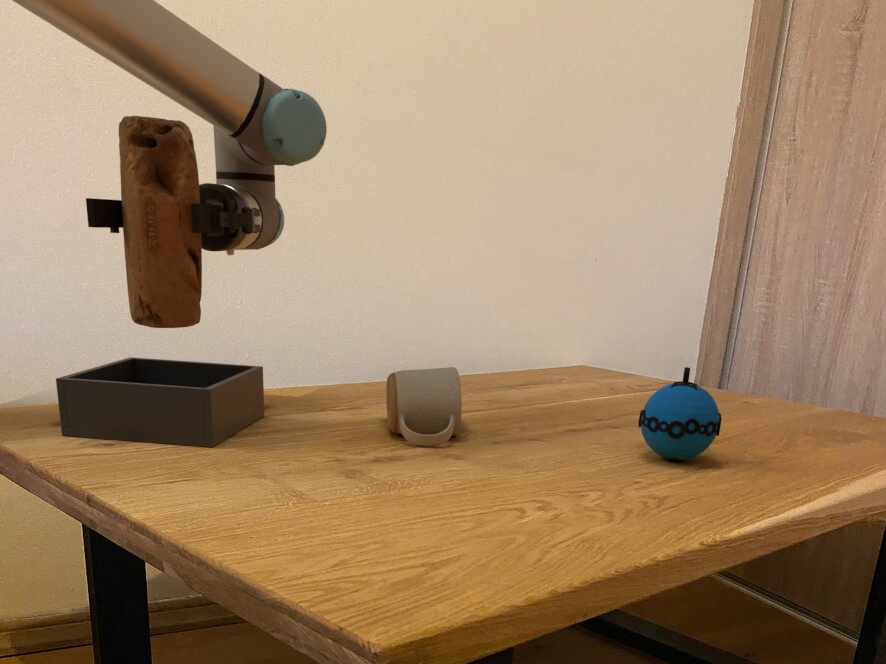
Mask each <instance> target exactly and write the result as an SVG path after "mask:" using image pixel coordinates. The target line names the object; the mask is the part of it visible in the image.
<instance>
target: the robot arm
mask: <svg viewBox="0 0 886 664" xmlns="http://www.w3.org/2000/svg"><path fill="white" fill-rule="evenodd" d="M11 1H12V2H14V3H16V4H17V5H19V6H20V7H22V8H24V9H25V10H27V11H28V12H30V13H32V14H33V15H35V16H36V17H38V18H40V19H41V20H43V21H45V22H46V23H48V24H50V25H51V26H53V27H54V28H56V29H57V30H59V31H60V32H62V33H63V34H65V35H67V36H69V37H70V38H72V39H74V40H75V41H77V42H78V43H80V44H81V45H83V46H85V47H86V48H88V49H90V50H92V51H93V52H94V53H96V54H98V55H99V56H101V57H103V58H104V59H105V60H108V61H109V62H111V63H112V64H114V65H115V66H117V67H119V68H120V69H122V70H123V71H125V72H127V73H128V74H130V75H132V76H133V77H135V78H136V79H138V80H140V81H141V82H143V83H144V84H146V85H148V86H149V87H151V88H153V89H154V90H156V91H157V92H159V93H160V94H162V95H164V96H165V97H167V98H169V99H170V100H172V101H173V102H175V103H177V104H178V105H180V106H181V107H183V108H185V109H186V110H188V111H190V112H191V113H193V114H195V115H196V116H198V117H199V118H200V119H202V120H204V121H205V122H207V123H209V124H211V125H212V126H213V142H214V144H213V145H214V161H215V183H212V182H206V183H205V182H204V183H199V190H200V204H193V203H191V216H192V233H201V246H202V250H204V251H207V252H226V255H227V256H234V255H235V251H245V250H246V251H249V250H251V251H252V250H253V251H254V250H255V251H258V250H261V249H264V248H267V247H268V246H271V245H273V244H275V242H276V241H277V240H278V239H279V238H280V236H281V235H282V233H283V230H284V228H285V227H284V226H285V214H284V210H283V207H282V206H281V203H280V201H279V200H278V199H277V197H276V176H275V175H276V174H275V173H276V172H275V166H287V167H293V166H295V165H299V164H303V163H306V162H309V161H311V160H313V159H314V158H315V157H317V155H319V153H320V152H321V151H322V149H323V147H324V145H325V141H326V138H327V121H326V116H325V113H324V111H323V109H322V107H321V105H320V103H318V101H317V100H316V99H315V98H314V97H313V96H312V95H310V94H309V93H308V92H305V91H303V90H297V89H294V88H283V87H281V86H279V84H277V83H275V82H274V81H272V80H271V79H270V78H268V77H267V76H265V75H263V74H262V73H260V72H259V71H257V70H255V69H254V68H253V67H251V66H250V65H248V64H247V63H246V62H245V61H243V60H241V59H239V58H238V56H236V55H234V54H233V53H231V52H229V51H228V50H227V49H225V48H224V47H222V46H221V45H219V44H218V43H217V42H215V41H213V40H212V39H211V38H209V37H208V36H207V35H205V34H203V33H202V32H200V31H199V30H198V29H197V28H195V27H193V26H192V25H190V24H189V23H188V22H186V21H185V20H183V19H181V18H180V17H179V16H177V15H176V14H174V13H173V12H171V11H170V10H168V9H167V8H166V7H164V6H163V5H162V4H160V3H158V2H157V1H155V0H11ZM85 205H86V216H87V224H88V225H87V227H88V228H95V229H96V228H101V229H103V228H108V229H109V232H110V233H111V234H120V228H121V229H123V219H122V200H121V199H107V198H91V197H85Z"/></svg>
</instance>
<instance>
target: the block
mask: <svg viewBox="0 0 886 664" xmlns="http://www.w3.org/2000/svg"><path fill="white" fill-rule="evenodd" d="M118 139H119V141H118V149H119V151H118V153H119V172H120V173H119V174H120V175H119V176H120V200H122V219H123V228H122V233H123V247H124V261H125V272H126V286H127V287H126V288H127V296H128V306H129V314H130V317H131V320H132V321H133V323H134V324H136V325H139V326H144V327H148V328H152V329H178V328H179V329H180V328H189V327H193V326H195V325H197V324H199V323H200V322H201V319H202V317H201V316H202V308H201V301H202V294H203V293H202V291H203V290H202V289H203V258H202V257H203V254H202V253H203V249H202V246H201V233H192V216H191V203H193V204H200V190H199V185H200V179H199V169H198V161H197V154H196V150H195V144H194V143H195V142H194V139H193V134H192V131H191V129H190V126H188V125H187V124H186V122H183V121H182V120H176V119H174V120H173V119H166V118H160V117H153V116H152V117H151V116H142V115H141V116H140V115H130V116H129V115H126V116H125V115H124V116H123V117H122V119H121V121H120V122H119V123H118Z"/></svg>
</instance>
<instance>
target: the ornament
mask: <svg viewBox="0 0 886 664" xmlns="http://www.w3.org/2000/svg"><path fill="white" fill-rule="evenodd" d="M690 374H691V367H687V366H685V367H684V370H683V377H682V381H680V380H678V381H674V382H673V383H669V384H666V385H664V386H662V387H661V388H659V389H657V390H656V391H655V392H654V393H652V395H651V396H649V398H648V400H647V401H646V403H645V404H644V406H643V409H641V410H640V414H639V417H638V428H640V430H641V434H642V436H643V439H644V441H645V443H646V444H647V446H648V447H649V449H650V450H652V451H653V452H654V453H655V454H656V455H658V456H660V457H661V458H663V459H665V460H668V461H671V462H683V461H686V460H691V459H694V458H696V457H698V456H699V455H701V454H702V453H704V452H705V451H706V450H707V449H708V448H709V447H710V446H711V445H712V443H713V442H714V440H715V439H716V437H719V436H720V433H721V432H720V431H721V426H722V414H721V413H720V410H719V408H718V405H717V402H716V401H715V399H714V398H713V396H712V395H711V394H710V393H709V392H708V391H707V390H706V389H704V388H703V387H701V386H700V385H698V383H695V382H691V381H690Z"/></svg>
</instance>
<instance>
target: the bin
mask: <svg viewBox="0 0 886 664" xmlns="http://www.w3.org/2000/svg"><path fill="white" fill-rule="evenodd" d="M55 384H56V394H57V401H58V411H59V421H60V430H61V436H63V437H74V438H75V437H76V438H87V439H89V438H90V439H101V440H113V441H126V442H138V443H149V444H150V443H151V444H163V443H164V445H176V446H177V445H178V446H188V447H189V446H190V447H201V446H202V447H201V448H214V447H215V445H216V446H218V445H219V444H221V443H223V442H224V441H226V440H228V439H229V438H231V437H233V436H234V435H236V434H238V433H239V432H240V430H241V431H242V430H244V429H246V428H247V427H249V426H250V424H251V425H253V424H254V423H255V421H256V422H258V421H259V420H260V418H261V419H263V418H264V417H265V395H264V394H265V393H264V391H265V390H264V366H262V365H249V364H248V365H246V364H233V363H232V364H231V363H217V362H205V361H191V360H176V359H161V358H146V357H133V356H129V357H127V358H122V359H119V360H116V361H112V362H108V363H105V364H102V365H99V366H94V367H92V368H91V367H90V368H88V369H84V370H81V371H78V372H77V371H76V372H74V373H70V374H67V375H64V376H60V377H56V378H55ZM245 427H246V428H245ZM243 428H244V429H243ZM235 433H236V434H235ZM233 434H234V435H233ZM230 436H231V437H230ZM228 437H229V438H228ZM225 439H226V440H225ZM204 446H205V447H204Z"/></svg>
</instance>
